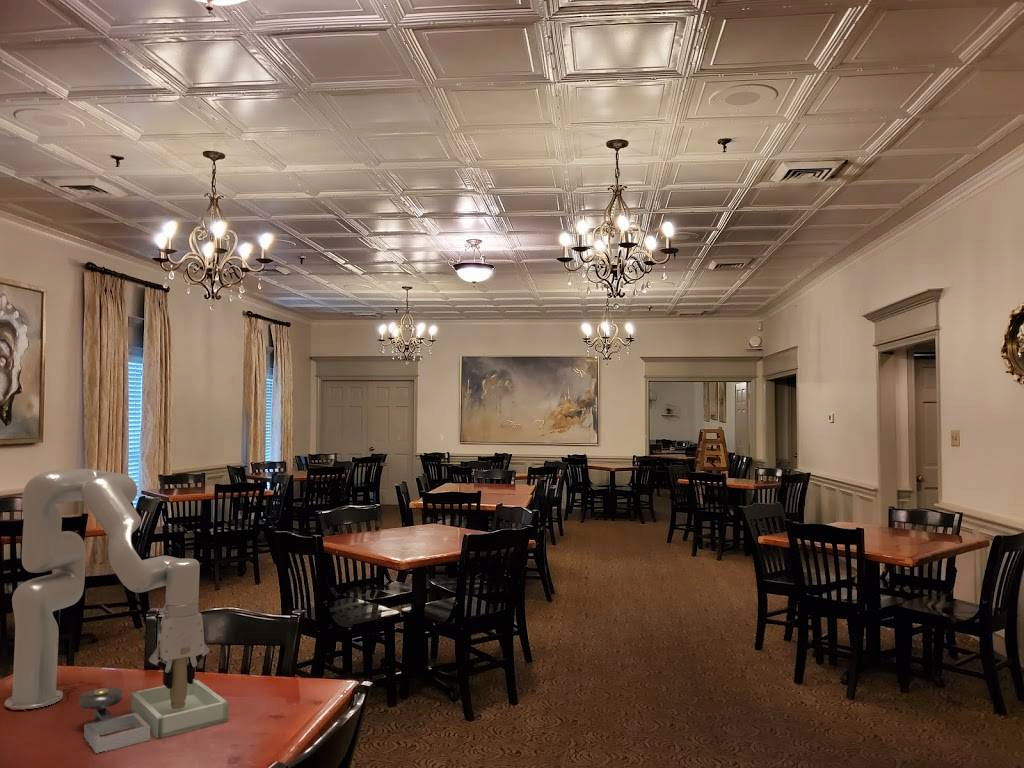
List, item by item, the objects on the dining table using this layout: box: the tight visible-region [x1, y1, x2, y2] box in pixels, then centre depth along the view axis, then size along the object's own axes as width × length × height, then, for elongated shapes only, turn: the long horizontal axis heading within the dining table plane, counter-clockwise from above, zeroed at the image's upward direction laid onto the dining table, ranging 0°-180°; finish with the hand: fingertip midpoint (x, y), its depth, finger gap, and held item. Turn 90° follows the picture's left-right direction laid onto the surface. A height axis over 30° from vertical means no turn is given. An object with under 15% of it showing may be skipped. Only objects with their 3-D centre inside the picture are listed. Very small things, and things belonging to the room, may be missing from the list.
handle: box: [170, 647, 191, 709], centre depth 184 cm, size 5×6×15 cm
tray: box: [129, 678, 229, 740], centre depth 183 cm, size 22×16×4 cm
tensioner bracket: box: [78, 686, 151, 754], centre depth 173 cm, size 21×11×8 cm, turn 42°
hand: (178, 684), depth 184 cm, fingers open, 4 cm apart
